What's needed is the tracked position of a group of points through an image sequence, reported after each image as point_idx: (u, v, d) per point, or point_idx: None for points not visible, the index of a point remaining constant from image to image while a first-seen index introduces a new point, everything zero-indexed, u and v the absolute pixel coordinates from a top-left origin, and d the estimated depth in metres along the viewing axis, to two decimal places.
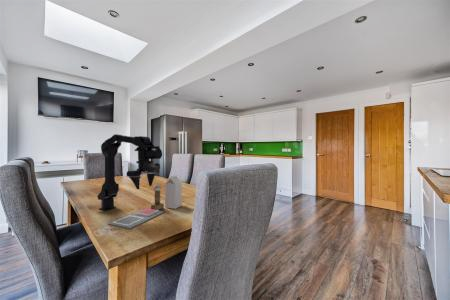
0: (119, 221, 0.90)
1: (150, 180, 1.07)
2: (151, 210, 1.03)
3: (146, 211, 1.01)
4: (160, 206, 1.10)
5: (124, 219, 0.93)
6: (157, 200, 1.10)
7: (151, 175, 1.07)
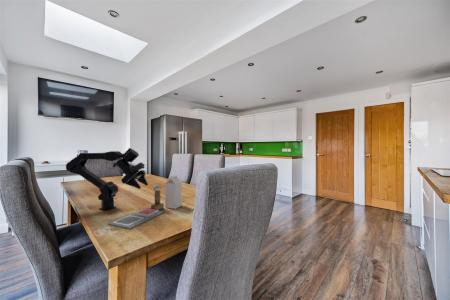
0: (119, 221, 0.90)
1: (144, 181, 1.16)
2: (151, 210, 1.03)
3: (146, 211, 1.01)
4: (160, 206, 1.10)
5: (124, 219, 0.93)
6: (157, 200, 1.10)
7: (141, 177, 1.16)
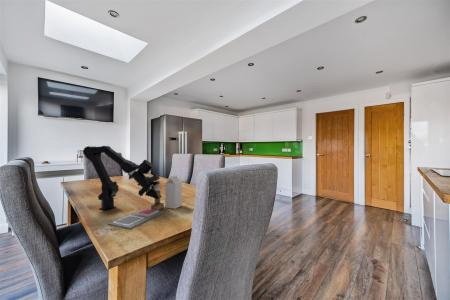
0: (119, 221, 0.90)
1: None
2: (151, 210, 1.03)
3: (146, 211, 1.01)
4: (160, 206, 1.10)
5: (124, 219, 0.93)
6: (157, 200, 1.10)
7: None
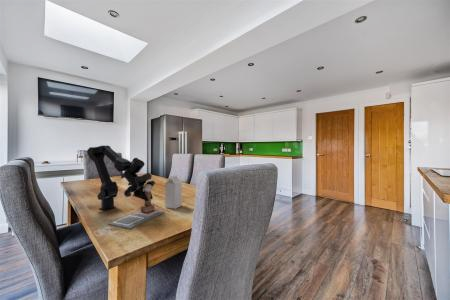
0: (119, 221, 0.90)
1: None
2: None
3: None
4: (149, 208, 1.00)
5: (124, 219, 0.93)
6: (146, 201, 1.00)
7: None
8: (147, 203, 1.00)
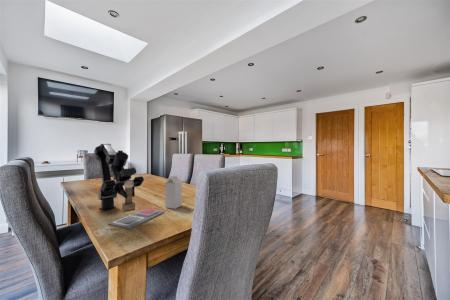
0: (119, 221, 0.90)
1: None
2: (151, 210, 1.03)
3: (146, 211, 1.01)
4: (128, 207, 0.90)
5: (124, 219, 0.93)
6: (126, 199, 0.91)
7: None
8: (127, 201, 0.91)
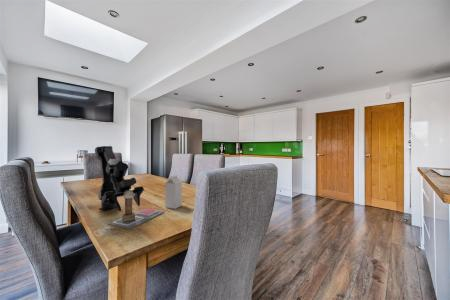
0: (119, 221, 0.90)
1: (137, 200, 0.96)
2: (151, 210, 1.03)
3: (146, 211, 1.01)
4: (128, 218, 0.90)
5: None
6: (126, 210, 0.91)
7: (136, 195, 0.97)
8: (126, 211, 0.91)
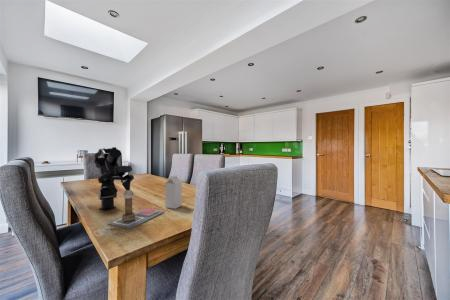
0: (119, 221, 0.90)
1: (127, 186, 1.04)
2: (151, 210, 1.03)
3: (146, 211, 1.01)
4: (128, 218, 0.90)
5: None
6: (126, 210, 0.91)
7: (126, 182, 1.05)
8: (126, 211, 0.91)
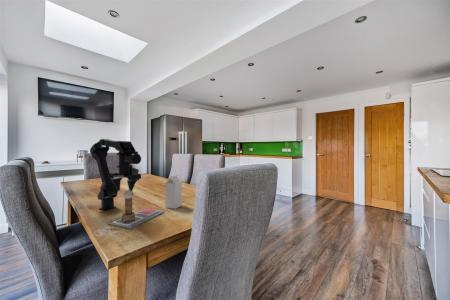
0: (119, 221, 0.90)
1: (118, 185, 1.06)
2: (151, 210, 1.03)
3: (146, 211, 1.01)
4: (128, 218, 0.90)
5: None
6: (126, 210, 0.91)
7: (118, 180, 1.07)
8: (126, 211, 0.91)
